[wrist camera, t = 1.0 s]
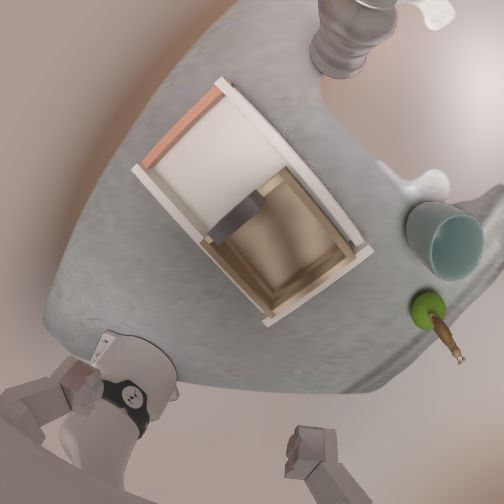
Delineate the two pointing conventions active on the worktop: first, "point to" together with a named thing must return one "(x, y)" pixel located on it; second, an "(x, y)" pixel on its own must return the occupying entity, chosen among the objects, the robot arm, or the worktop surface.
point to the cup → (445, 239)
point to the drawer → (278, 244)
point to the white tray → (231, 172)
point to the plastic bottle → (350, 34)
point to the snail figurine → (434, 319)
